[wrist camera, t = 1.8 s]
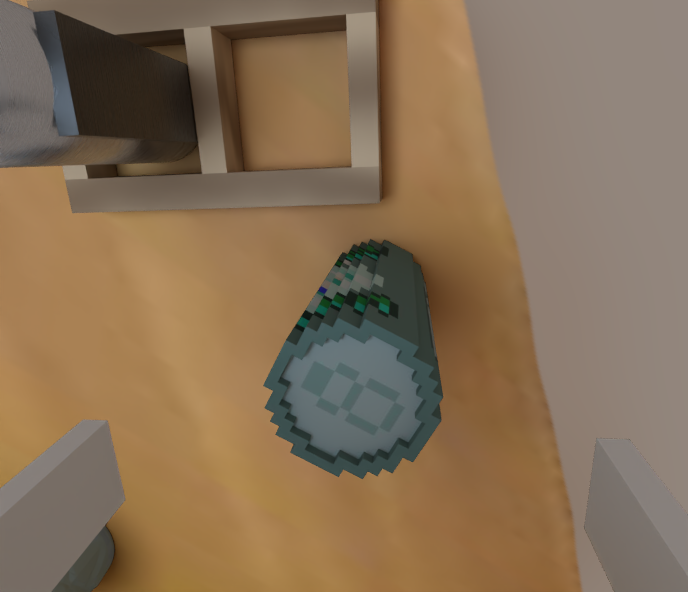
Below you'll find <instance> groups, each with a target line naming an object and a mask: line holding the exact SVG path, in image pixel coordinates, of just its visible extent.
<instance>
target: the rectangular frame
mask: <svg viewBox="0 0 688 592" xmlns="http://www.w3.org/2000/svg"><path fill="white" fill-rule="evenodd" d="M27 3H28V7H29V8H30V9H32V10H35V11H37V12H39V11H49V10H55V11H58V12H60V13H63V14H65V15H68V16H70V17H72V18H75V19H77V20H80V21H82V22H84V23H87V24H89V25H92V26H94V27H97V28H99V29H101V30H104V31H106V32H109V33H111V34H114V35H116V36H118V37H121V38H123V39H126V40H128V41H131V42H133V43H135V44H138V45H140V46H143V47H150V46H162V45H174V44H186V52H187V59H188V67H189V75H190V83H191V91H192V98H193V106H194V114H195V122H196V129H197V137H198V145H199V153H200V160H201V168H202V173H188V174H165V175H142V176H119V177H118V176H117V171H116V165H115V164H101V165H70V166H62V167H63V172H64V176H65V181H66V186H67V190H68V195H69V200H70V205H71V209H72V213H89V212H120V211H151V210H182V209H213V208H244V207H275V206H306V205H338V204H369V203H380V202H381V200H382V161H381V110H380V59H379V7H378V0H31V1H27ZM342 30H347V52H348V78H349V105H350V131H351V158H352V166H350V167H327V168H304V169H281V170H257V171H244V164H243V154H242V144H241V135H240V125H239V115H238V105H237V96H236V86H235V76H234V67H233V57H232V47H231V40H234V39H246V38H258V37H270V36H282V35H294V34H306V33H318V32H330V31H342Z"/></svg>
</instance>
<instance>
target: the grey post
mask: <svg viewBox="0 0 688 592" xmlns="http://www.w3.org/2000/svg"><path fill="white" fill-rule="evenodd" d="M197 144H198V137H197V129H196V122H195V114H194V106H193V98H192V91H191V83H190V77H189V74H188V66H187V65H186V64H184V63H182V62H179V61H177V60H174V59H172V58H169V57H167V56H165V55H162V54H160V53H157V52H155V51H152V50H150V49H148V48H145V47H143V46H140V45H138V44H135V43H133V42H131V41H128V40H126V39H123V38H121V37H118V36H116V35H114V34H111V33H109V32H106V31H104V30H101V29H99V28H97V27H94V26H92V25H89V24H87V23H84V22H82V21H80V20H77V19H75V18H72V17H70V16H68V15H65V14H63V13H60V12H58V11H55V10H49V11H39V12H37V11H35V10H32V9H30V8H27V7H25V6H22V5H19V4H17V3H14V2H12V1H9V0H0V168H8V167H39V166H70V165H101V164H132V163H164V162H173V161H177V160H179V159H182V158H184V157H185V156H187V155H188V154H189V153H190V152H191V151H192V150H193V149H194V148H195V147H196V145H197Z"/></svg>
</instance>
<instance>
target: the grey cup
mask: <svg viewBox="0 0 688 592" xmlns="http://www.w3.org/2000/svg"><path fill="white" fill-rule="evenodd" d="M113 557H114V543H113V539H112V536H111V534H110V533H109V531H108V529H107V528H106V526H104V527H103V528H102V530H101V531H100V532H99V533H98V535H97V536H96V537H95V538H94V539H93V541H92V542H91V543H90V544H89V546H88V547H87V548H86V549H85V551H84V552H83V553H82V554H81V556H80V557H79V558H78V559H77V561H76V562H75V563H74V564H73V566H72V567H71V568H70V569H69V570H68V572H67V573H66V574H65V575H64V577H63V578H62V579H61V580H60V582H59V583H58V584H57V585H56V587H55V588H54V589H53V590H52V592H91V591H92V590H93V589H94V588H95V587H97V586H98V584H99V583H100V581H101V580H102V578H103V577H104V575H105V573H106V572H107V570H108V569H109V567H110V565H111V563H112V560H113Z"/></svg>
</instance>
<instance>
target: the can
mask: <svg viewBox="0 0 688 592" xmlns="http://www.w3.org/2000/svg"><path fill="white" fill-rule="evenodd" d="M263 386H265V387H267V388H269V389H271V390H272V391H273V392H272V394H271V396H270V398H269V400H268V402H267V404H266V406H265V409H267V410H269V411H271V412H273V413H274V415H273V416H272V418H271V420H270V422H272V423H274V424H276V425H278V426H279V428H278V430H277V432H276V434H275V435H277V436H279V437H281V438H283V439H285V440H287V441H289V442H291V443H293V444H294V445H293V447H292V450H291V452H290V453H292V454H294V455H296V456H298V457H300V458H302V459H304V460H306V461H308V462H310V463H312V464H314V465H316V466H318V467H320V468H322V469H324V470H326V471H328V472H330V473H332V474H334V475H336V476H337V477H339V475H340V474H341V472H342V471H343V469H344V470H346V471H348V472H350V473H352V474H354V475H356V476H358V477H359V478H361V479H363V478H364V476H365V475H366V473H367V472H370V473H372V474H374V475H376V476H378V474H379V473H380V471H381V470H382V468H383V469H385V470H387V471H389V472H391V473H393V472H394V470H395V469H396V467H397V466H398V464H399V463H400V461H401V460H402V458H405V459H407V460H409V461H411V462H413V461H414V460H415V459H416V457H417V456H418V454H419V453H420V451H421V450H422V448H423V447H424V445H425V444H426V442H427V441H428V439H429V438H430V436H431V435H432V434H433V432H434V431H435V429H436V428H437V426H438V425H439V423H440V422H441V413H440V406H439V403H440V401H441V400H442V398H443V393H442V386H441V380H440V374H439V367H438V361H437V354H436V348H435V341H434V335H433V329H432V322H431V316H430V309H429V303H428V296H427V290H426V283H425V281H424V278H423V274H422V273H421V266H420V265H419V264H417V263H415V262H413V255H412V254H411V253H409V252H407V251H405V250H404V249H402V248H400V247H398V246H396V245H394V244H392V243H390V242H388V241H386V240H384V241H383V243H382V245H381V244H379V243H377V242H375V241H373V240H371V239H370V241H369V243H368V245H367V244H365V243H363V242H362V243H361V245H360V247H358V246H356V245H353V246H352V248H351V250H350V251H349V253H348V255H347V254H345V253H343V252H342V254H341V255H340V257H339V259H338V260H337V262H336V263H335V265H334V266H333V268H332V269H331V271H330V273H329V274H328V276H327V277H326V279H325V280H324V282H323V283H322V285H321V287H320V288H319V290H318V291H317V293H316V294H315V296H314V297H313V299H312V301H311V302H310V304H309V305H308V307H307V308H306V310H305V311H304V313H303V314H302V316H301V318H300V319H299V321H298V322H297V324H296V325H295V327H294V328H293V330H292V332H291V333H290V335H289V336H288V338H287V339H286V341H285V343H284V345H283V347H282V349H281V351H280V353H279V355H278V357H277V359H276V361H275V363H274V365H273V367H272V369H271V371H270V373H269V375H268V377H267V379H266V381H265V383H264V385H263Z"/></svg>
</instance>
